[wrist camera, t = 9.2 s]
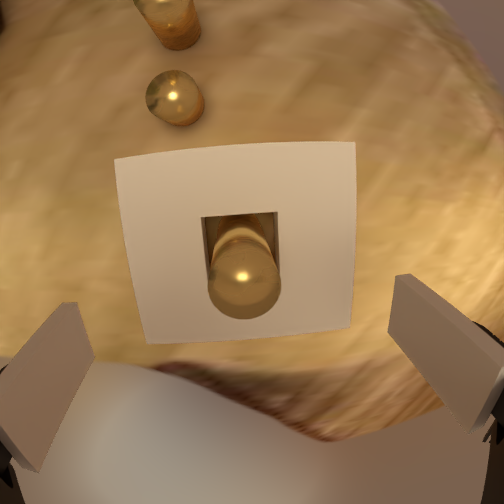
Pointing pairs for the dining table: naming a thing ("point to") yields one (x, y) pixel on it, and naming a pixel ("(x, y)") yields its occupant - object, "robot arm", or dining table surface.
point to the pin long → (242, 269)
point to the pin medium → (171, 21)
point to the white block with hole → (231, 203)
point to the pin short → (175, 98)
